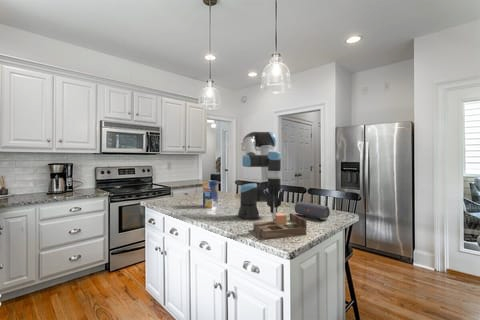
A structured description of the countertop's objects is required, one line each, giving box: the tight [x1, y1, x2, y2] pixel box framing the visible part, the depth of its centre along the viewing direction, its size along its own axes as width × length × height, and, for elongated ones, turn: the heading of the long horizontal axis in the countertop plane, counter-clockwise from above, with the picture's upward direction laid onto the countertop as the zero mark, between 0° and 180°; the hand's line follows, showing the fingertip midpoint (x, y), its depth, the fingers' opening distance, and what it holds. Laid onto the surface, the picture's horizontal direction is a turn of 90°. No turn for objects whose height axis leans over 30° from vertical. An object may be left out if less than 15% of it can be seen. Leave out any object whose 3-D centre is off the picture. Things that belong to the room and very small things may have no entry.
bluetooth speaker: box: [294, 201, 330, 220], centre depth 167 cm, size 23×9×10 cm, turn 45°
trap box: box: [252, 212, 307, 240], centre depth 135 cm, size 16×25×8 cm, turn 108°
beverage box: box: [202, 179, 219, 209], centre depth 201 cm, size 7×11×22 cm, turn 50°
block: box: [272, 212, 288, 225], centre depth 140 cm, size 6×6×5 cm
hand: (273, 218), depth 138 cm, fingers closed
